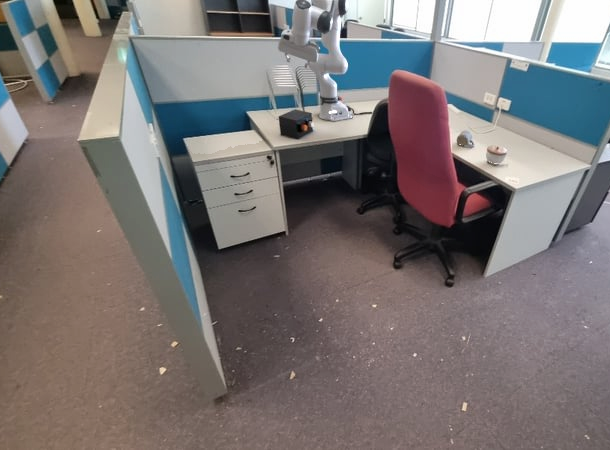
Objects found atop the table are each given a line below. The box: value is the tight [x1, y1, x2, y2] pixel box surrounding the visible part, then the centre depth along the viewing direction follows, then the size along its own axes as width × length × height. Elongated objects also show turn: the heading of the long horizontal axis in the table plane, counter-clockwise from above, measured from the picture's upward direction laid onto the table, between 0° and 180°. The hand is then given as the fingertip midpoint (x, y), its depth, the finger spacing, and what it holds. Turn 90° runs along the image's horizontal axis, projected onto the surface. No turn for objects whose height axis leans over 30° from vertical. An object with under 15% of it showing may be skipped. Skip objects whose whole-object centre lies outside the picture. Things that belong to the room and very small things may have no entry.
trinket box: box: [485, 145, 508, 166], centre depth 181 cm, size 11×11×9 cm
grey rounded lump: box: [456, 130, 475, 148], centre depth 200 cm, size 11×8×8 cm
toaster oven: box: [277, 109, 314, 140], centre depth 197 cm, size 18×13×11 cm
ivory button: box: [308, 121, 315, 128], centre depth 197 cm, size 3×2×3 cm, turn 157°
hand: (297, 64), depth 175 cm, fingers open, 8 cm apart
